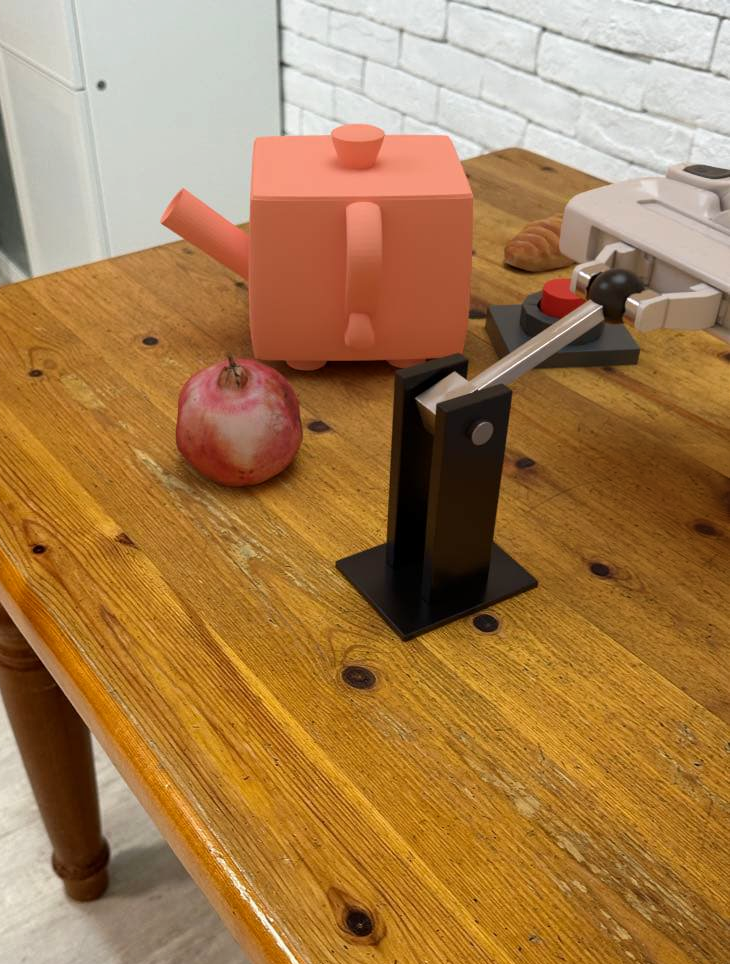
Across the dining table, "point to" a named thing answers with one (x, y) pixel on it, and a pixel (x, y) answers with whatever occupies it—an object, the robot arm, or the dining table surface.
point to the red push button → (559, 298)
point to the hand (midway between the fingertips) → (604, 299)
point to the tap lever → (541, 342)
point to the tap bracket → (440, 509)
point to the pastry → (537, 246)
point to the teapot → (348, 247)
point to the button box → (589, 349)
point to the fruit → (238, 422)
